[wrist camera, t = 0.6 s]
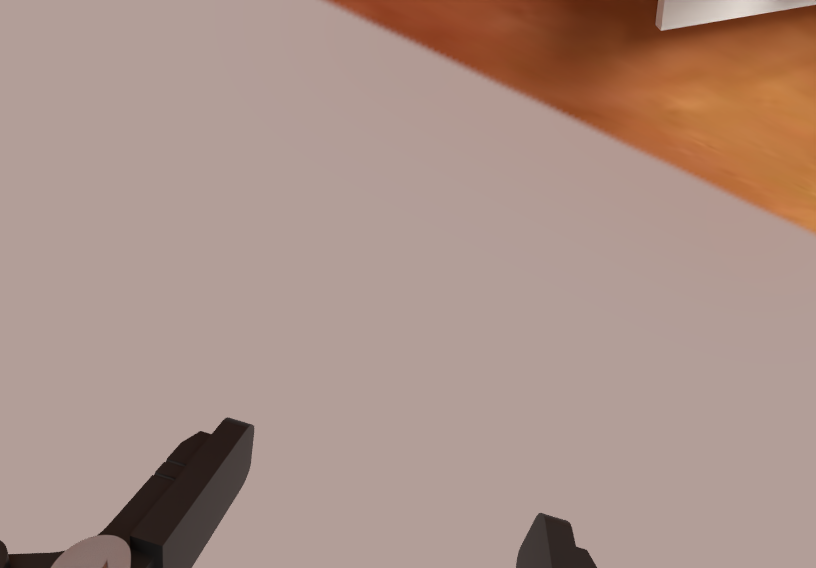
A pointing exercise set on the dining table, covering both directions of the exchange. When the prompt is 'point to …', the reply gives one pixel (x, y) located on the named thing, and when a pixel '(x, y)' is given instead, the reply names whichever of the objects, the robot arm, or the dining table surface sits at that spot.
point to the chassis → (716, 10)
